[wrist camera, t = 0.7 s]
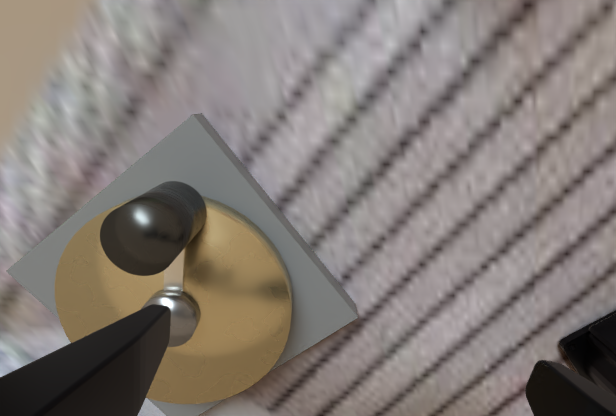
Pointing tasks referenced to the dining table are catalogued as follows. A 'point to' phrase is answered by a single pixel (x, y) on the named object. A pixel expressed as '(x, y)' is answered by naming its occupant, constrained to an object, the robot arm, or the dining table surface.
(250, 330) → the handwheel
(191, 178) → the base plate
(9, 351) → the dining table surface
